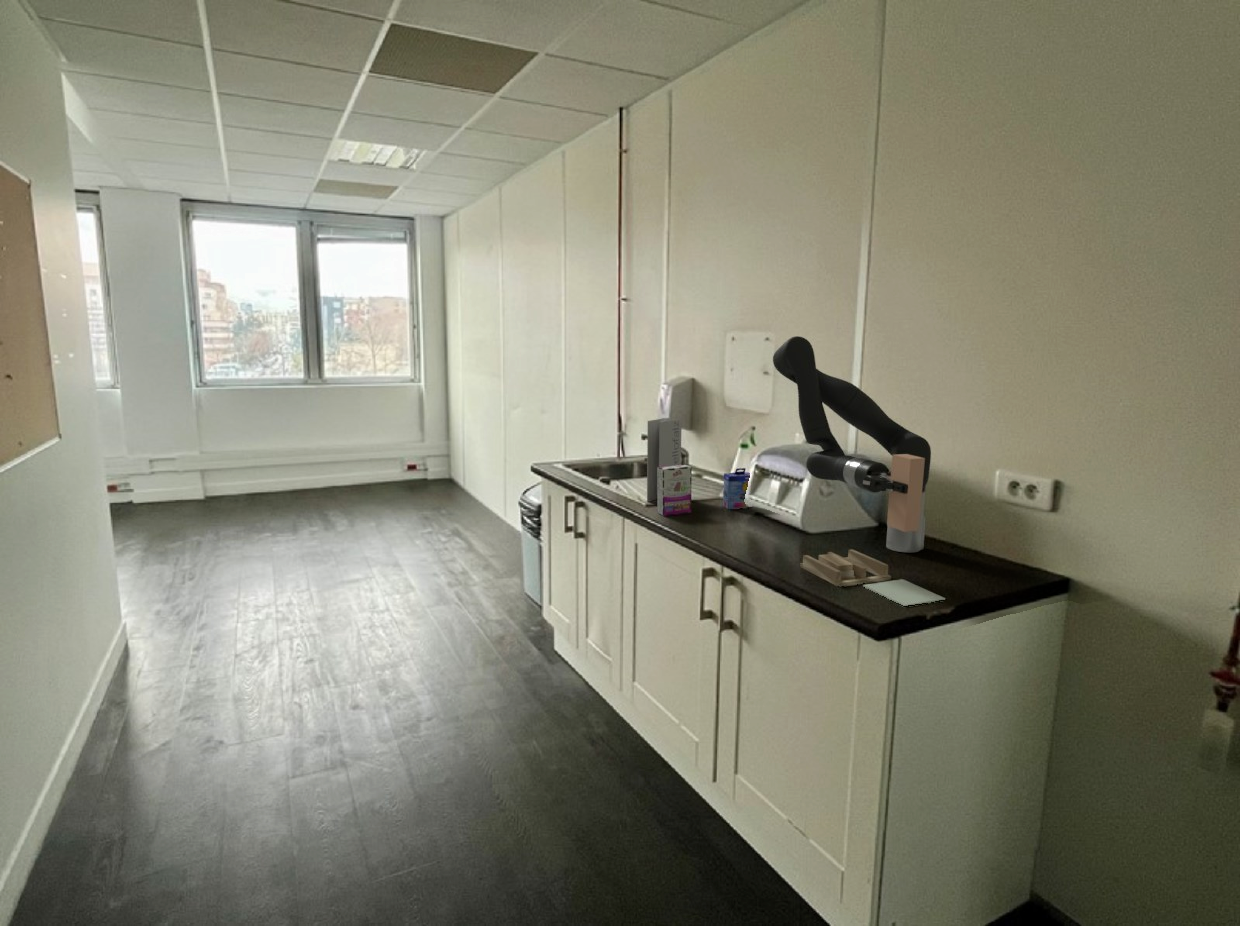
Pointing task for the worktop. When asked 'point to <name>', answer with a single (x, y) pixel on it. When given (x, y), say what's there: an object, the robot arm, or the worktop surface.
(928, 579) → the worktop surface
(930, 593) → the sage mat
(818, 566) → the birch rack
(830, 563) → the plywood offcut stack
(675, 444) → the grey lettered box
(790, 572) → the worktop surface
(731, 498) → the ink cartridge box
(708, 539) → the worktop surface
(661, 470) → the candy bar box
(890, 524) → the peach upright pillar
